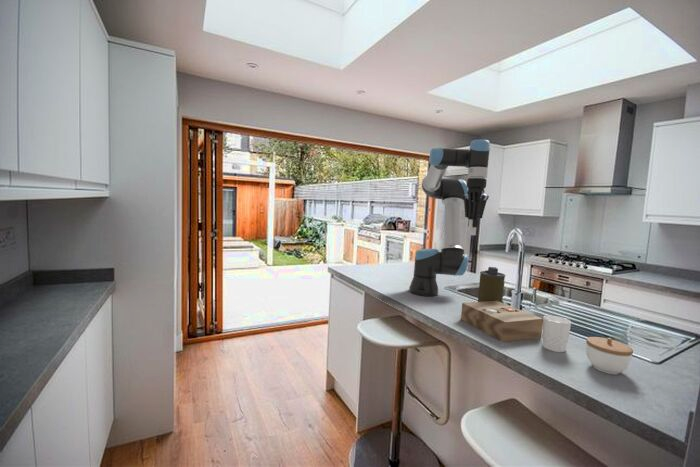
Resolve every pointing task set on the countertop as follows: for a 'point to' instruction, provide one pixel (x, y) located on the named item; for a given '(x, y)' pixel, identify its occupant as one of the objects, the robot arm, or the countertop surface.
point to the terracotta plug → (509, 309)
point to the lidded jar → (608, 354)
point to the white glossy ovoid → (491, 311)
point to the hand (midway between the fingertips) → (471, 235)
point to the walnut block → (502, 321)
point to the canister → (491, 285)
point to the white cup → (555, 333)
